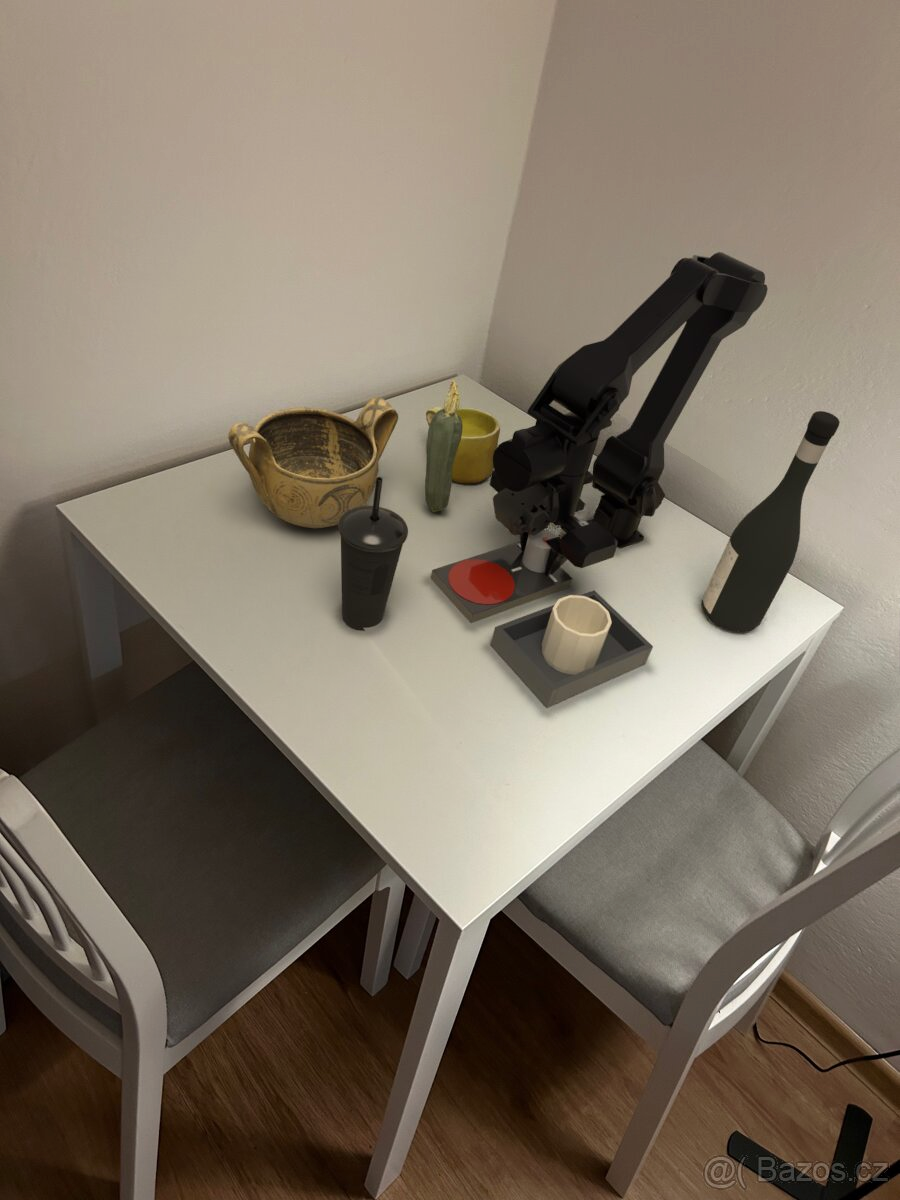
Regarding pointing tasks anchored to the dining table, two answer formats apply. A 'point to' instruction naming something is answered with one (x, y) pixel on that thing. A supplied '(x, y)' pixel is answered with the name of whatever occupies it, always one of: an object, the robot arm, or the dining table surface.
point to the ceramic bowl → (315, 460)
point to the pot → (575, 634)
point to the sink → (551, 686)
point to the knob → (537, 551)
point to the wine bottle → (765, 541)
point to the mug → (473, 445)
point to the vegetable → (442, 450)
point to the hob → (525, 580)
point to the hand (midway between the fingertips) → (536, 562)
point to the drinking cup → (369, 560)
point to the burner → (481, 581)
